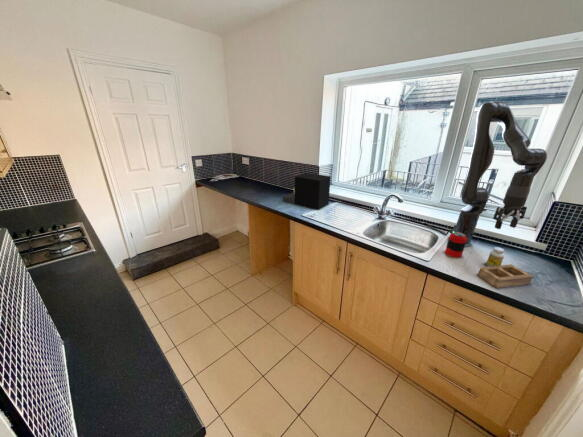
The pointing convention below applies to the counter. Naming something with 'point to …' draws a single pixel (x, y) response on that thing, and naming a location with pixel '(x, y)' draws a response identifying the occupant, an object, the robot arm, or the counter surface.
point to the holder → (505, 276)
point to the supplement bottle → (495, 257)
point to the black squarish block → (310, 191)
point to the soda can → (456, 244)
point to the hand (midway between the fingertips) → (504, 227)
